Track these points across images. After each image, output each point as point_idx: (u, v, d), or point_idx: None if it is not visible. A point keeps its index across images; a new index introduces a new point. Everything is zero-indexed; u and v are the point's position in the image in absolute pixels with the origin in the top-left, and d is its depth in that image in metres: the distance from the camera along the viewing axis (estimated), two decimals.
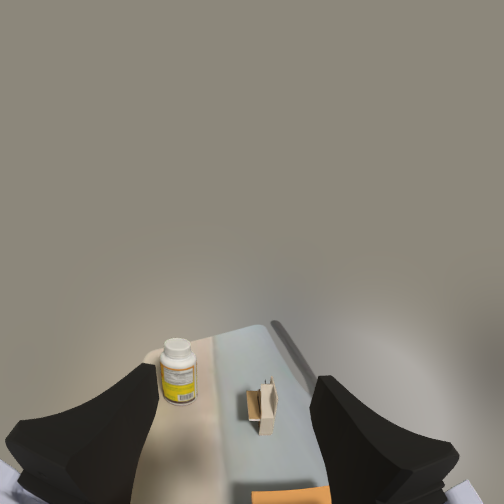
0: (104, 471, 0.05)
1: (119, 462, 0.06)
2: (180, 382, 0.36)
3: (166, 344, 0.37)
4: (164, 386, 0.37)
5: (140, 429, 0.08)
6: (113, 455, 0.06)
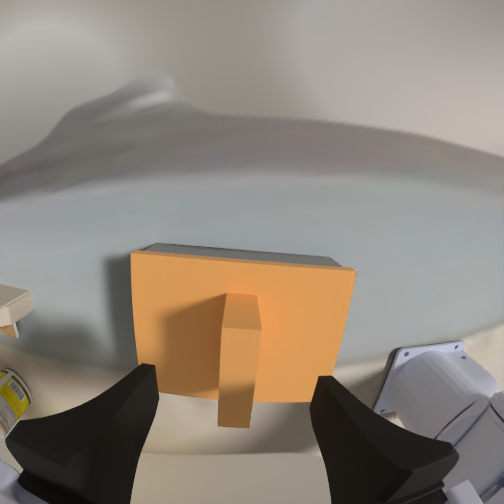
0: (104, 471, 0.05)
1: (119, 462, 0.06)
2: (8, 410, 0.16)
3: None
4: (20, 415, 0.18)
5: (140, 429, 0.08)
6: (113, 455, 0.06)
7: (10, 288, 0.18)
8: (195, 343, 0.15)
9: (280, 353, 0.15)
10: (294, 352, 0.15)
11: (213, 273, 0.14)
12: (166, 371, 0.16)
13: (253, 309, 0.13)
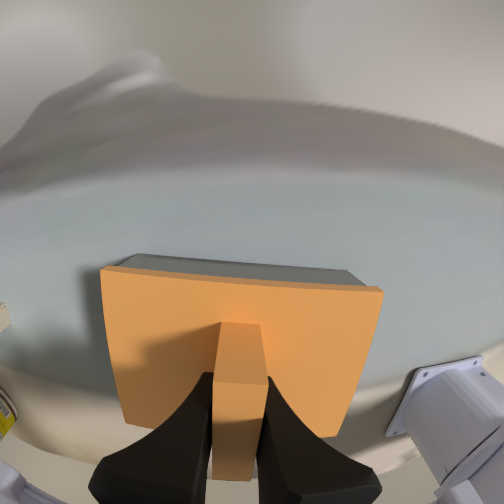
0: (199, 492, 0.05)
1: (203, 478, 0.06)
2: None
3: None
4: None
5: (210, 440, 0.08)
6: (202, 473, 0.06)
7: None
8: (184, 379, 0.12)
9: (288, 390, 0.12)
10: (305, 388, 0.12)
11: (203, 297, 0.11)
12: (151, 407, 0.12)
13: (256, 348, 0.09)
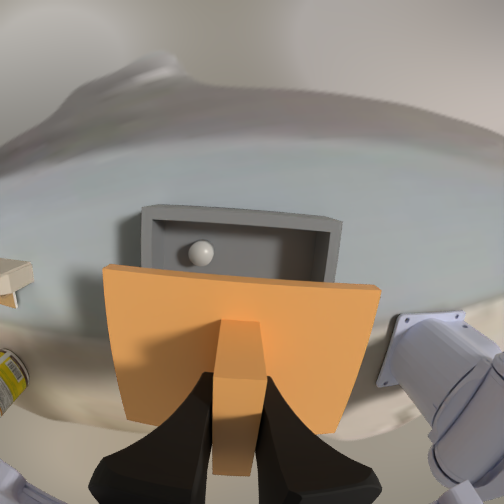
0: (200, 492, 0.05)
1: (203, 478, 0.06)
2: (5, 389, 0.17)
3: None
4: None
5: (210, 440, 0.08)
6: (202, 473, 0.06)
7: (11, 260, 0.19)
8: (184, 376, 0.12)
9: (287, 386, 0.12)
10: (303, 385, 0.12)
11: (204, 295, 0.11)
12: (152, 404, 0.12)
13: (255, 345, 0.10)
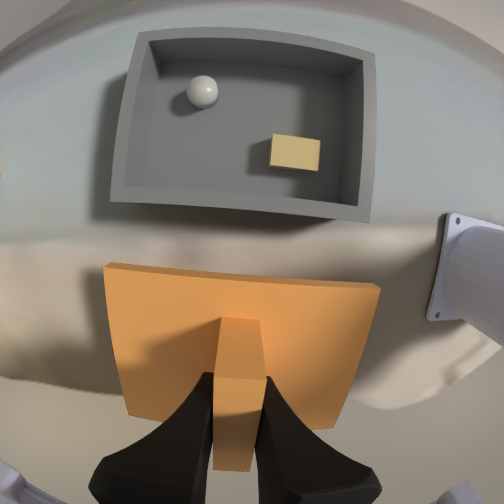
0: (200, 492, 0.05)
1: (203, 478, 0.06)
2: None
3: None
4: None
5: (210, 440, 0.08)
6: (202, 473, 0.06)
7: None
8: (185, 372, 0.12)
9: (286, 383, 0.13)
10: (303, 381, 0.13)
11: (204, 293, 0.11)
12: (154, 399, 0.13)
13: (255, 343, 0.10)
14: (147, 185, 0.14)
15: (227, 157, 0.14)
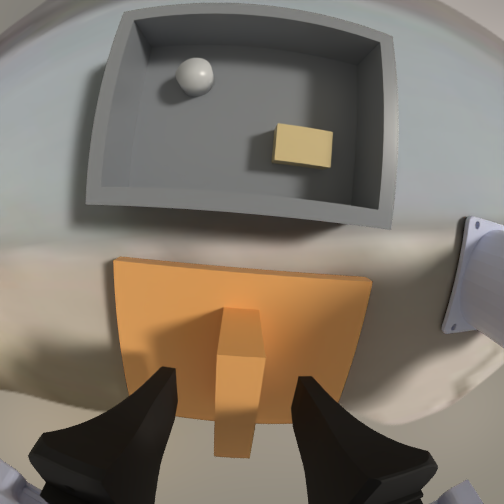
0: (133, 480, 0.05)
1: (145, 469, 0.06)
2: None
3: None
4: None
5: (162, 433, 0.08)
6: (141, 462, 0.06)
7: None
8: (188, 362, 0.13)
9: (284, 373, 0.13)
10: (300, 372, 0.13)
11: (208, 284, 0.12)
12: None
13: (255, 329, 0.11)
14: (131, 184, 0.12)
15: (224, 151, 0.12)
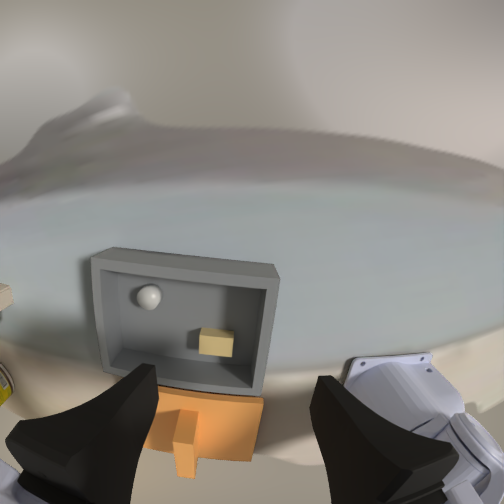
0: (104, 471, 0.05)
1: (119, 462, 0.06)
2: None
3: None
4: (3, 402, 0.19)
5: (140, 429, 0.08)
6: (113, 455, 0.06)
7: None
8: (165, 428, 0.21)
9: (217, 437, 0.21)
10: (226, 438, 0.21)
11: (171, 399, 0.20)
12: (149, 439, 0.21)
13: (192, 426, 0.19)
14: (124, 347, 0.20)
15: (173, 337, 0.20)
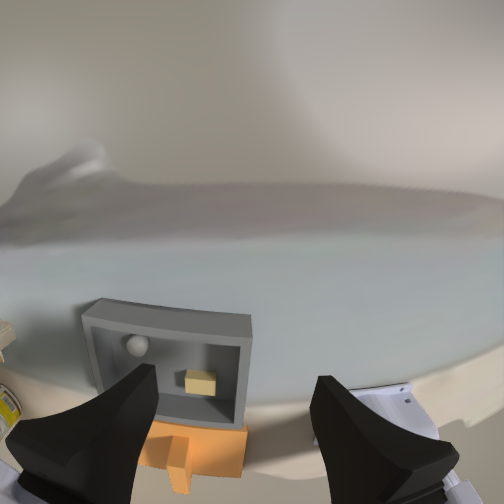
0: (104, 471, 0.05)
1: (119, 462, 0.06)
2: (2, 420, 0.17)
3: None
4: (12, 424, 0.20)
5: (140, 429, 0.08)
6: (113, 455, 0.06)
7: None
8: (161, 450, 0.22)
9: (208, 458, 0.22)
10: (216, 458, 0.22)
11: (164, 427, 0.21)
12: (147, 458, 0.22)
13: (184, 451, 0.19)
14: None
15: (162, 377, 0.21)
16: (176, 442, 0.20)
